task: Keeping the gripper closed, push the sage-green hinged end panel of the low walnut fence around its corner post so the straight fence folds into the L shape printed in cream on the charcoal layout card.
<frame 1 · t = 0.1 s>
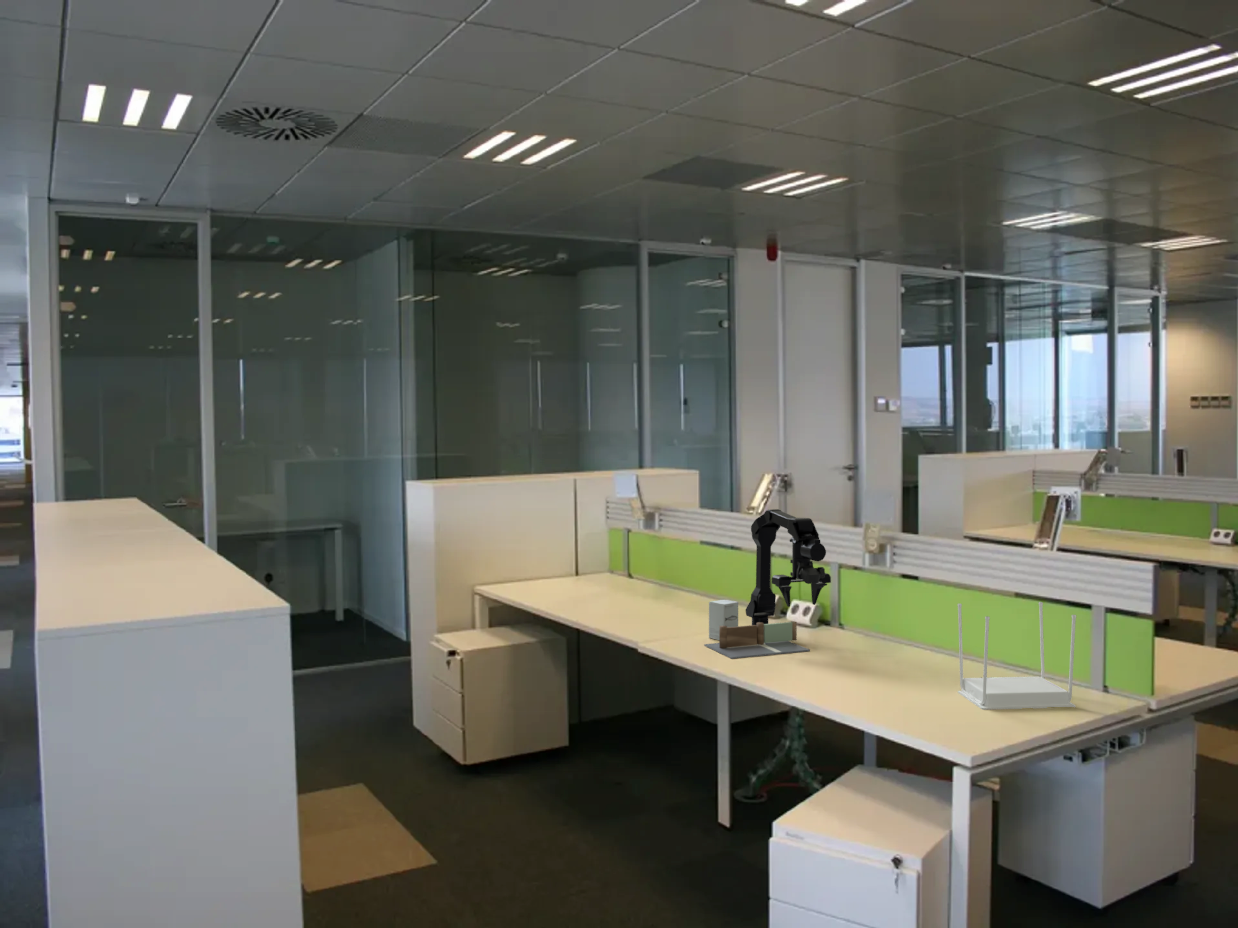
hand: (801, 605, 331), 15 cm above the table, tool pointing down, fingers open, 9 cm apart
hinged fence panel: (780, 632, 341), point 4 cm above the table, hinge at 0.0°
fixed fence section: (760, 645, 338), resting on layout card
router: (1014, 699, 273), on the table
supplement box: (723, 638, 350), on the table
layout card: (756, 648, 335), on the table
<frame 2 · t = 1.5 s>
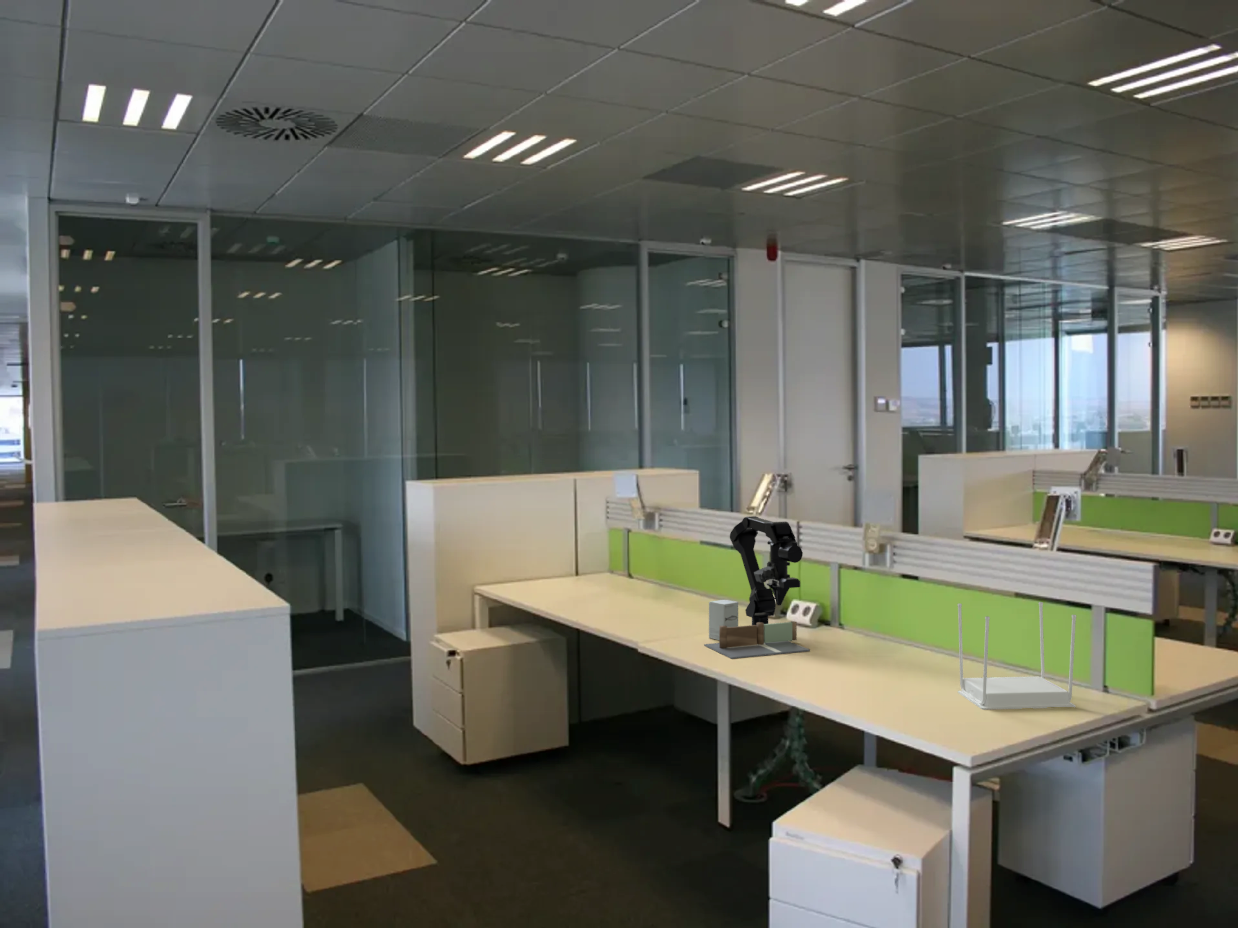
hand: (778, 605, 345), 12 cm above the table, tool pointing down, fingers closed
nothing on the table moved.
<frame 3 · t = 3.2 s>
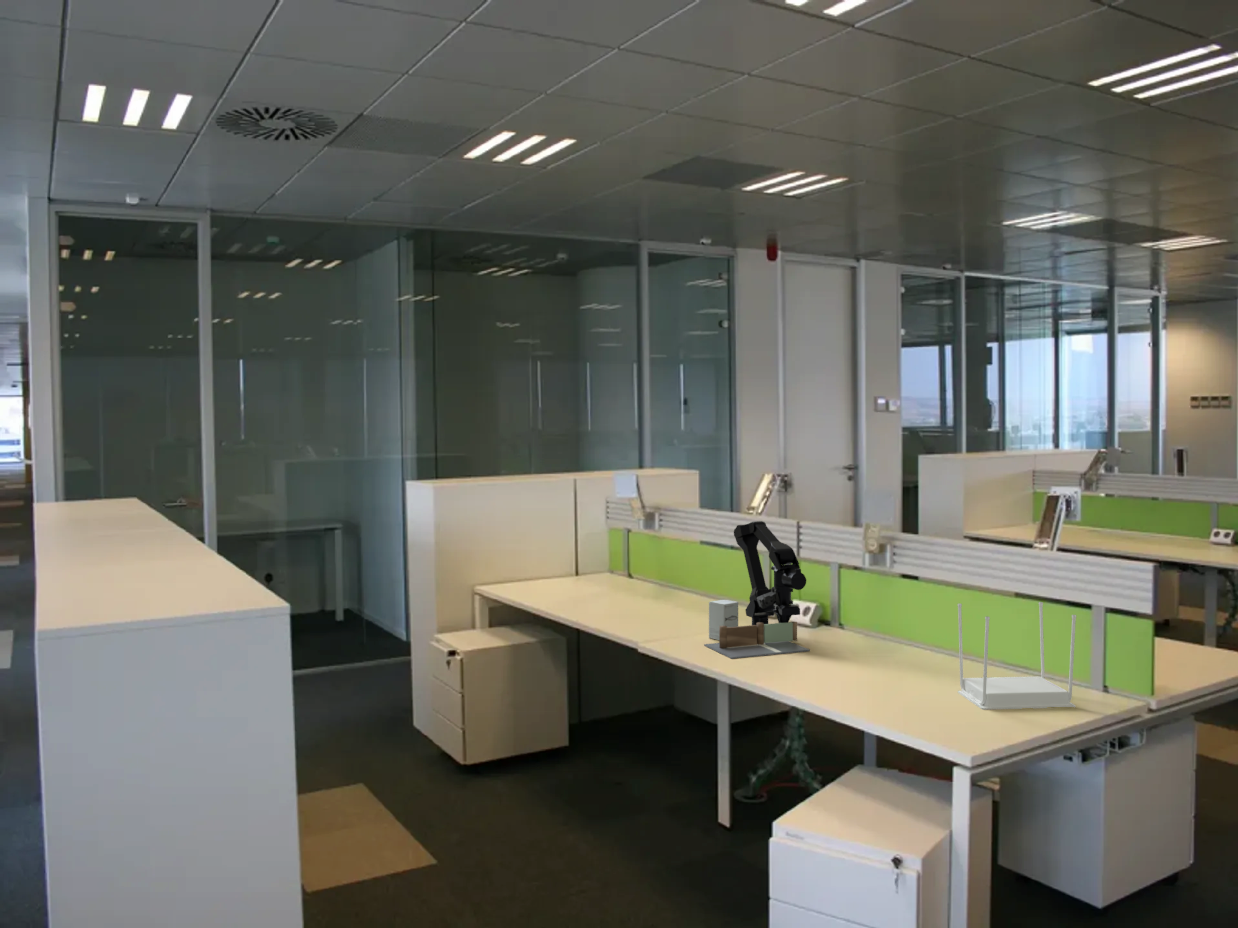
hand: (782, 631, 344), 4 cm above the table, tool pointing down, fingers closed
hinged fence panel: (780, 632, 341), point 4 cm above the table, hinge at 1.6°, touching gripper
everything else where it was.
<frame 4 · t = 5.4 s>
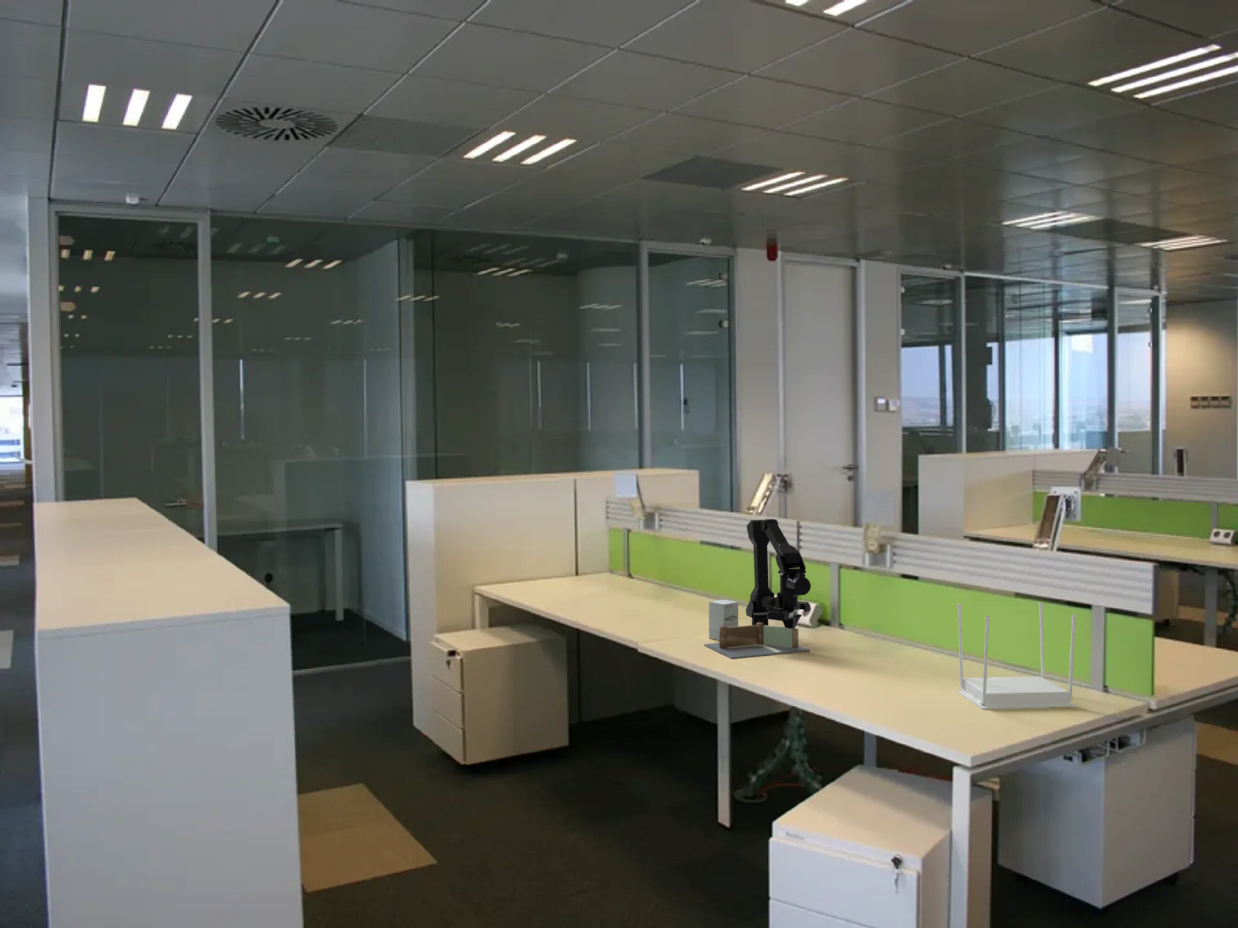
hand: (789, 636, 335), 4 cm above the table, tool pointing down, fingers closed
hinged fence panel: (781, 636, 334), point 4 cm above the table, hinge at 54.2°, touching gripper
everything else where it was.
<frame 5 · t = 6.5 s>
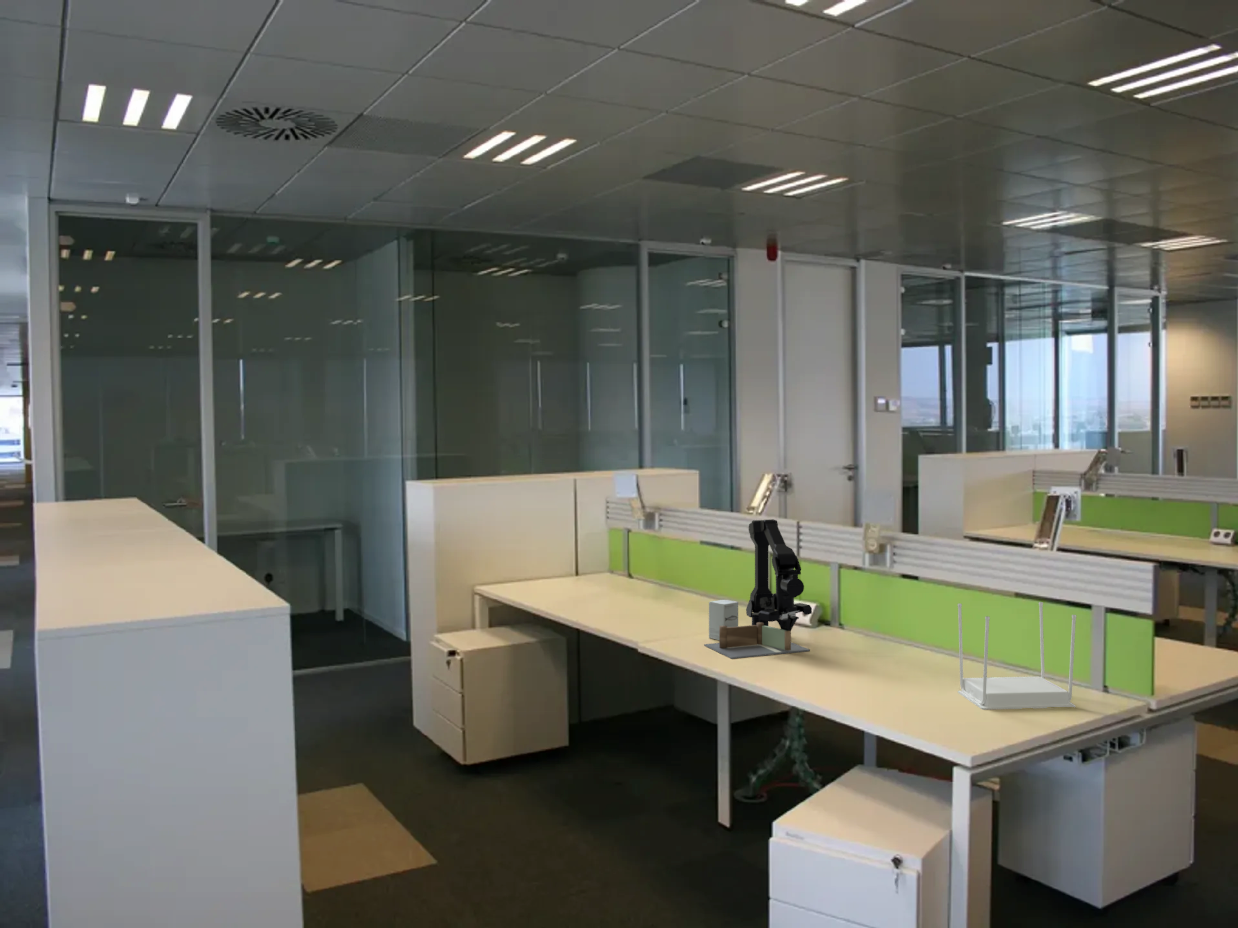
hand: (785, 638, 332), 4 cm above the table, tool pointing down, fingers closed
hinged fence panel: (776, 637, 332), point 4 cm above the table, hinge at 73.7°, touching gripper
everything else where it was.
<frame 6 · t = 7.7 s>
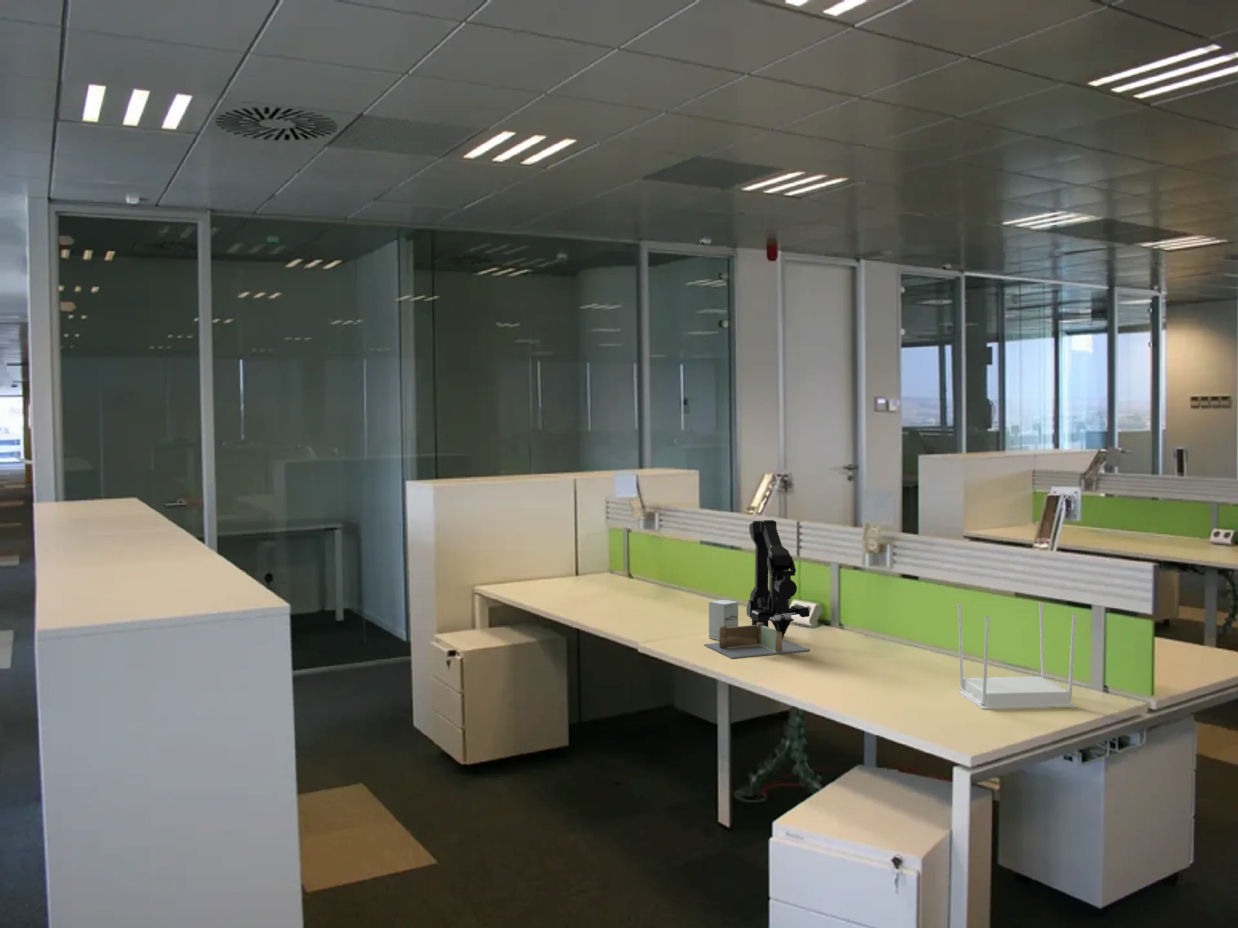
hand: (780, 639, 330), 4 cm above the table, tool pointing down, fingers closed
hinged fence panel: (771, 638, 331), point 4 cm above the table, hinge at 90.1°, touching gripper
everything else where it was.
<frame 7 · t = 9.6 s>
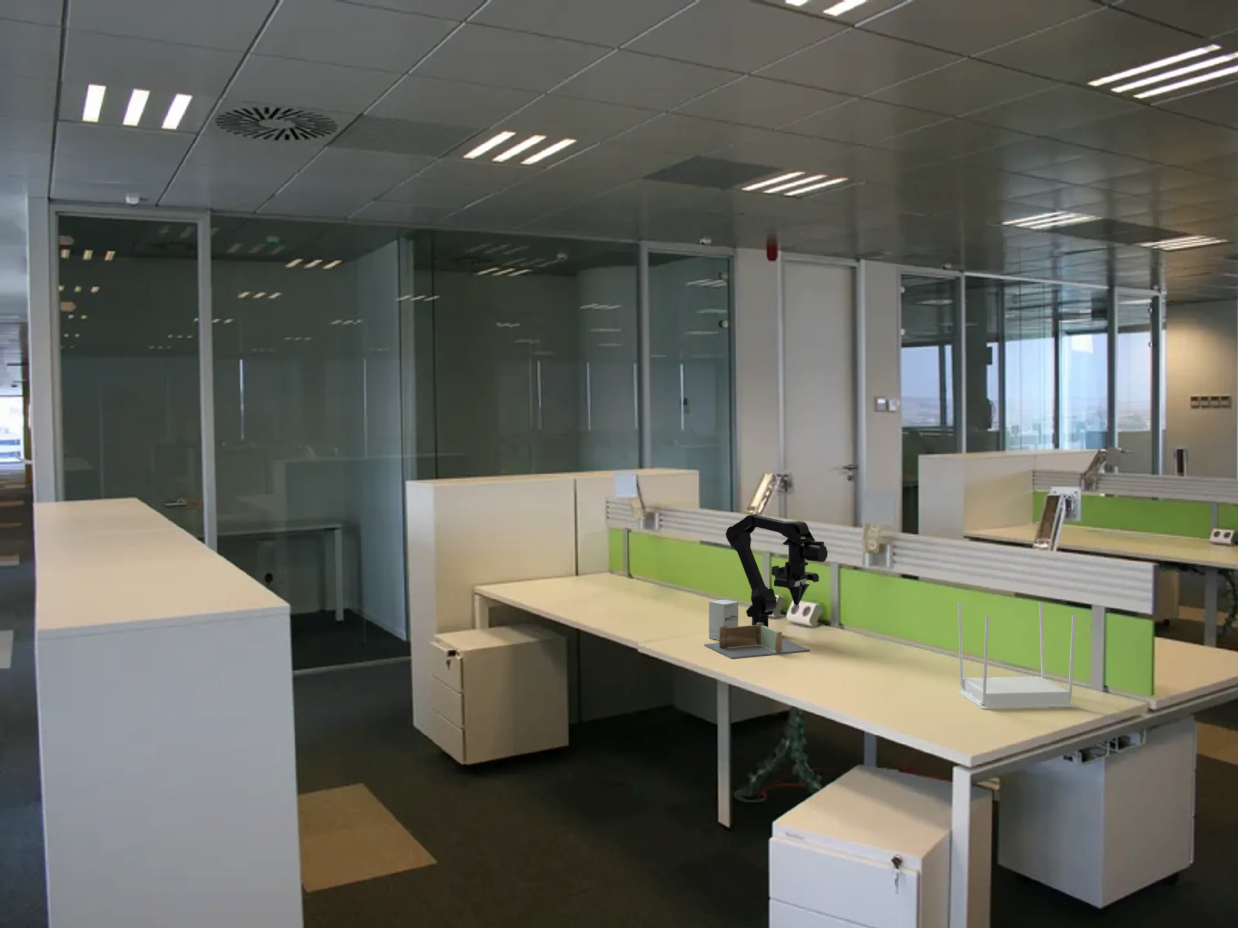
hand: (796, 605, 346), 12 cm above the table, tool pointing down, fingers closed
hinged fence panel: (771, 638, 331), point 4 cm above the table, hinge at 90.2°
everything else where it was.
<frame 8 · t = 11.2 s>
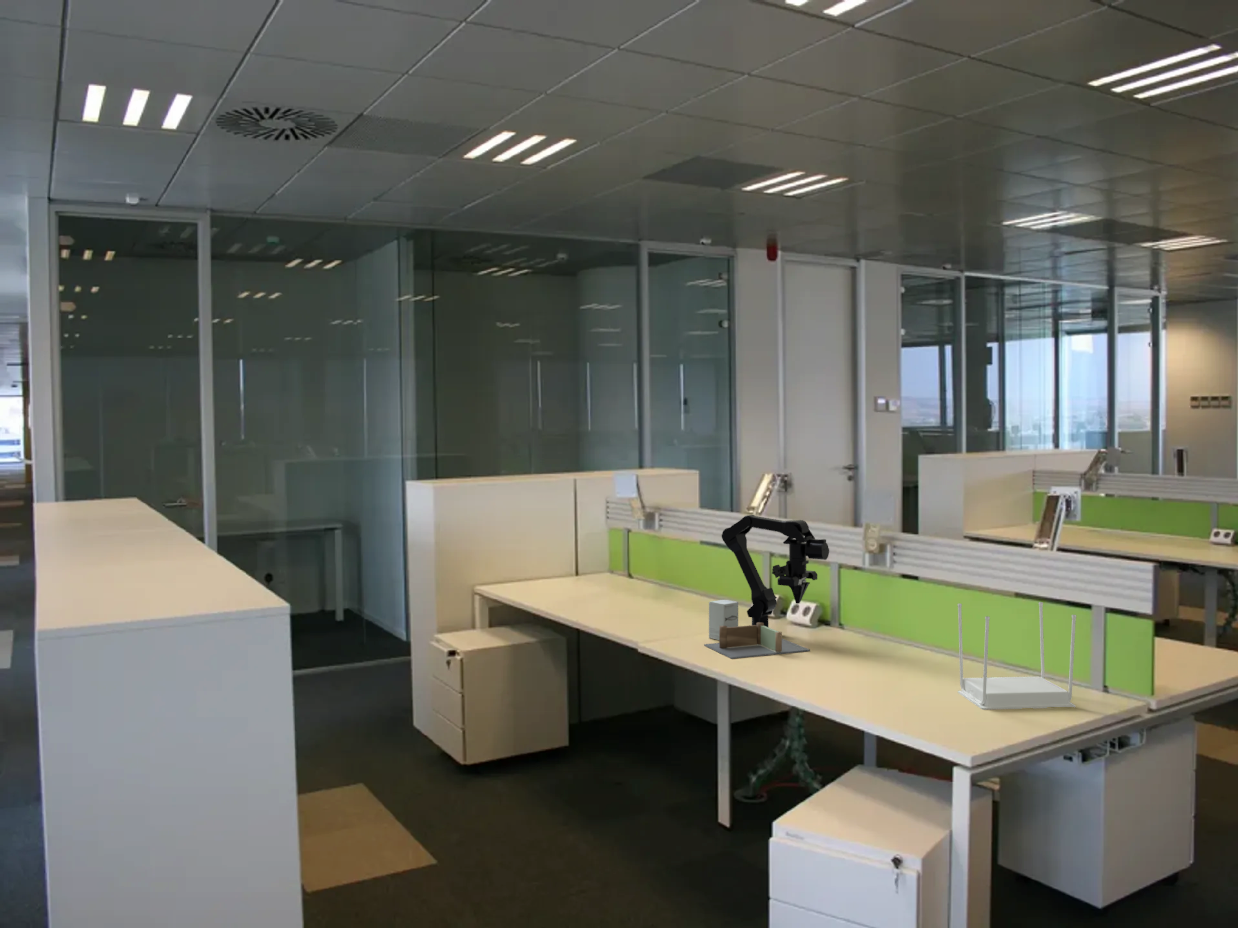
hand: (797, 603, 348), 12 cm above the table, tool pointing down, fingers closed
nothing on the table moved.
at the end: hinged fence panel at +90° (first picture: +0°); supplement box moved 0.2 cm from its start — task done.
